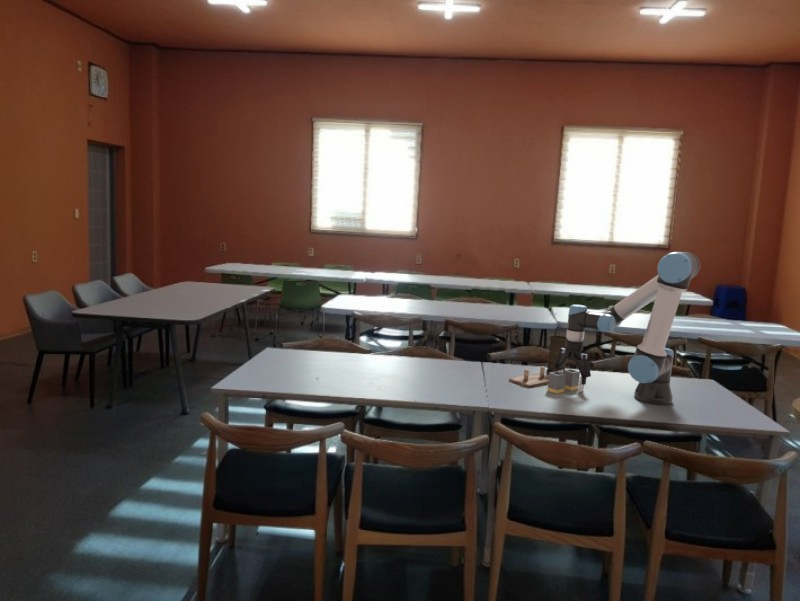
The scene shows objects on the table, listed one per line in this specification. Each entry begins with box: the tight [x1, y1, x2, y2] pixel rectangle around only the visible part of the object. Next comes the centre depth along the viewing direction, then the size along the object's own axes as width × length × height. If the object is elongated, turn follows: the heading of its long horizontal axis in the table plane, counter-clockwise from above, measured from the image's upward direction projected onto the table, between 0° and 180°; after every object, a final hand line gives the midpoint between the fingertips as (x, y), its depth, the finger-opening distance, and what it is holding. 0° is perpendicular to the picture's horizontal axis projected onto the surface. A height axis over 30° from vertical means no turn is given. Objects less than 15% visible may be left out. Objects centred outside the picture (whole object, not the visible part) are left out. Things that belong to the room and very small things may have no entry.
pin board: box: [508, 366, 549, 389], centre depth 274 cm, size 12×20×6 cm, turn 127°
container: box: [545, 335, 567, 374], centre depth 290 cm, size 9×9×18 cm
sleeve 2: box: [563, 368, 581, 391], centre depth 266 cm, size 5×5×8 cm
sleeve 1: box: [547, 371, 566, 394], centre depth 260 cm, size 5×5×8 cm
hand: (570, 387), depth 266 cm, fingers open, 11 cm apart
